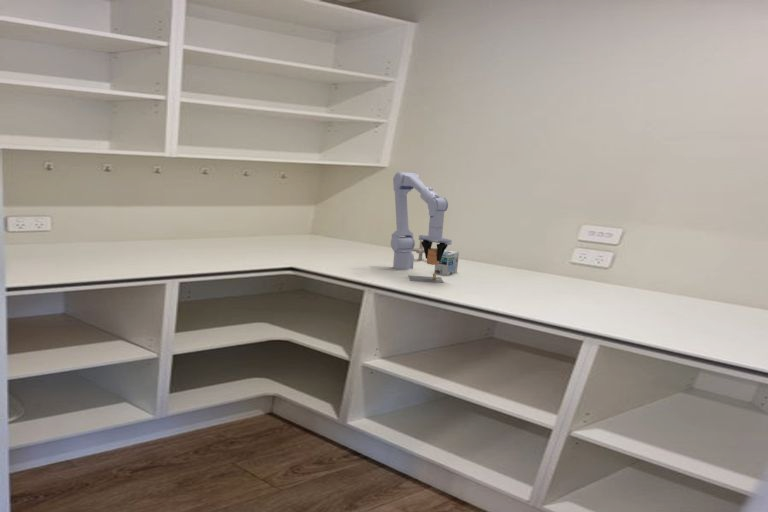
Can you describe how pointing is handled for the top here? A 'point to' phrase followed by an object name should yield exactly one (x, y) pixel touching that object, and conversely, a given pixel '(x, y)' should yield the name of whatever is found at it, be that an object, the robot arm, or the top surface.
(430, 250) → the knob
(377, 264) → the top surface
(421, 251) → the pipe connector
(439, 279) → the faceplate
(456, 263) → the light bulb box
